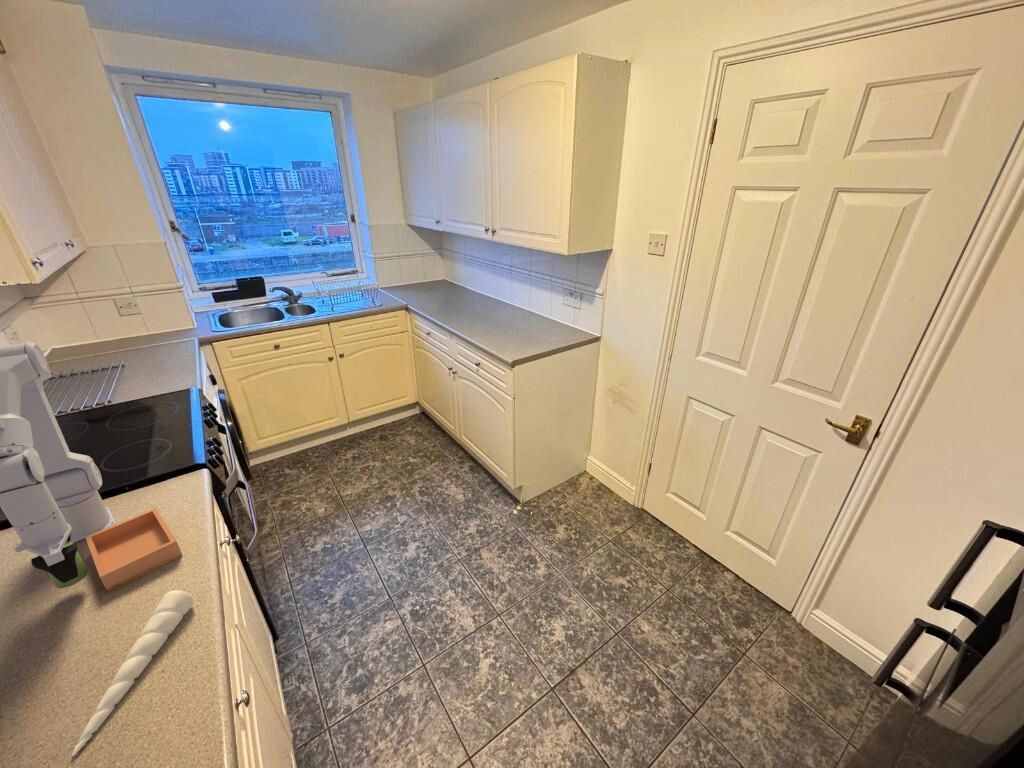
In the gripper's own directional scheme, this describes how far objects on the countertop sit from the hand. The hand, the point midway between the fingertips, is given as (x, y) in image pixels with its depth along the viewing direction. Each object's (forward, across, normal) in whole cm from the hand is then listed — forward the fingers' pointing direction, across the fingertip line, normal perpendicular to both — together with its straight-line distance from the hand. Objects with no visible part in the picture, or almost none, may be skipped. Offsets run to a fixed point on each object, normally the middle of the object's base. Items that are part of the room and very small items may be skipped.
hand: (68, 571), depth 79 cm
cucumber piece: (+2, 0, 0) cm, 2 cm away
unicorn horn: (+5, +27, +4) cm, 28 cm away
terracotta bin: (+5, -3, +10) cm, 11 cm away
